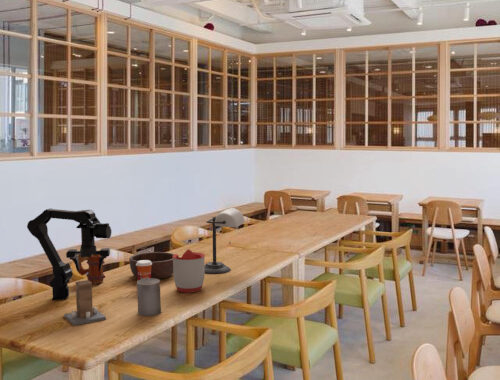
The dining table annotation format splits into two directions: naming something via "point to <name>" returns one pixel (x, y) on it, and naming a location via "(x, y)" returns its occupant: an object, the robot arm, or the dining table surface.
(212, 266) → the lamp
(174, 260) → the citrus juicer
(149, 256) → the wooden bowl
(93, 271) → the mug
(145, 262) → the paper cup
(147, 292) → the pillar candle
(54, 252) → the robot arm
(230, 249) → the dining table surface
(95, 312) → the peg nest
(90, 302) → the walnut post
